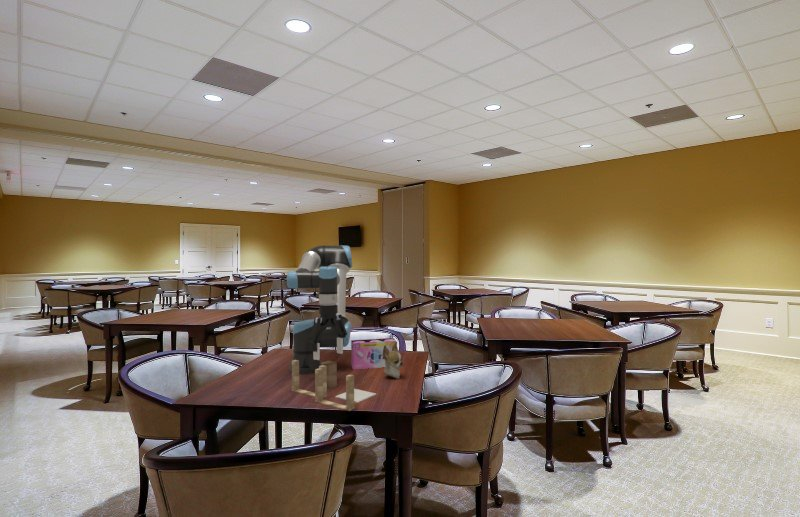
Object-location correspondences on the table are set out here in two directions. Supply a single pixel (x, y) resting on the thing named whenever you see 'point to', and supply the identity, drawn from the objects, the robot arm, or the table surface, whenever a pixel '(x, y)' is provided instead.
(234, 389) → the table surface
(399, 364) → the ceramic sculpture
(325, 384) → the gate
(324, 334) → the robot arm
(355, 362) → the gum box
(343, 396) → the pad
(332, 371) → the walnut block
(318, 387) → the gate
